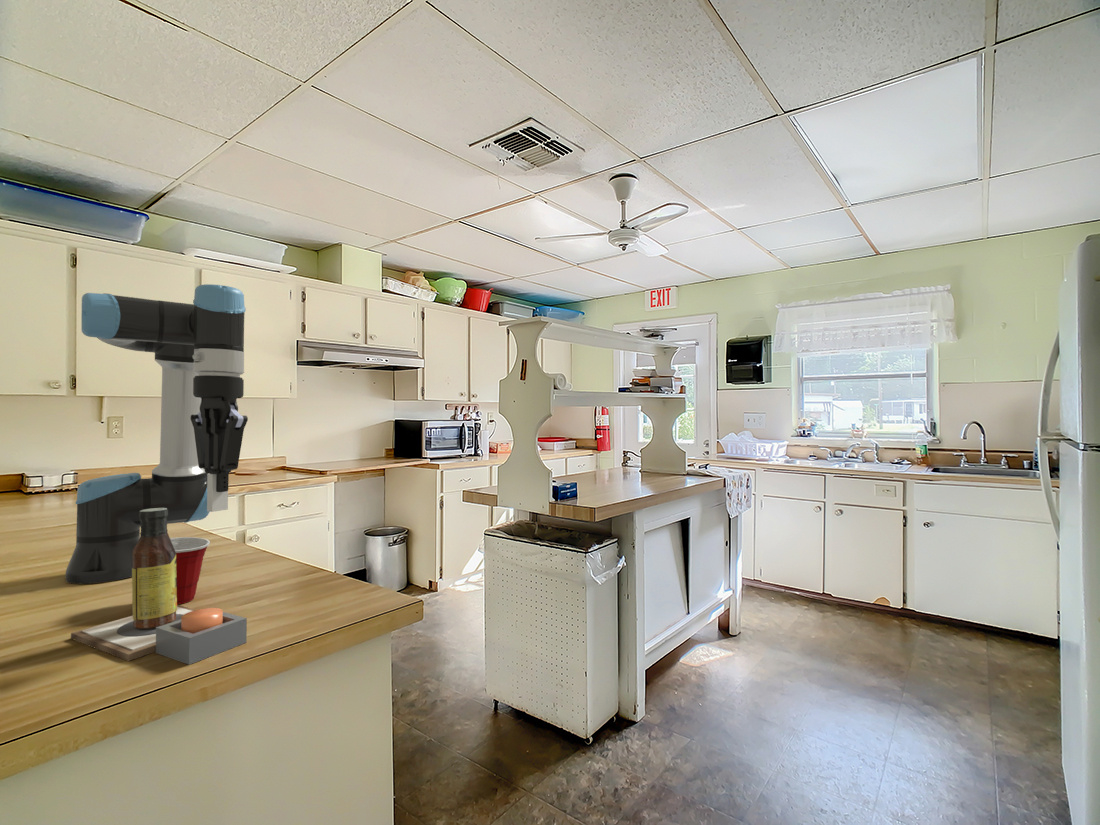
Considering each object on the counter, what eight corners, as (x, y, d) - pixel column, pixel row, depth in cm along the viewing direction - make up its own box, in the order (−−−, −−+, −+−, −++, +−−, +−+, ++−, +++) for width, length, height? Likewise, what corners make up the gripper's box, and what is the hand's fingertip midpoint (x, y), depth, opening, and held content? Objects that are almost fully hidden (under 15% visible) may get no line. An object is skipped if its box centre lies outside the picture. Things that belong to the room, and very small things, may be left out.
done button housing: (155, 652, 85) (155, 627, 85) (213, 632, 93) (213, 609, 93) (189, 664, 81) (189, 638, 81) (246, 642, 89) (246, 618, 89)
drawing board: (70, 638, 90) (70, 631, 90) (173, 608, 104) (173, 602, 104) (128, 661, 82) (128, 652, 82) (231, 625, 96) (231, 617, 96)
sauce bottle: (185, 620, 95) (187, 507, 95) (148, 633, 89) (150, 513, 89) (159, 615, 97) (161, 505, 98) (121, 628, 91) (124, 510, 92)
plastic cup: (177, 612, 102) (177, 549, 103) (130, 608, 105) (131, 546, 105) (222, 594, 113) (223, 537, 113) (179, 590, 115) (179, 534, 115)
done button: (173, 638, 86) (173, 616, 86) (209, 626, 91) (209, 605, 91) (194, 645, 83) (194, 622, 83) (230, 632, 88) (230, 611, 88)
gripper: (174, 374, 94) (173, 509, 94) (219, 373, 88) (218, 517, 88) (218, 377, 100) (216, 503, 100) (262, 376, 94) (261, 510, 94)
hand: (217, 510), depth 94 cm, fingers closed
